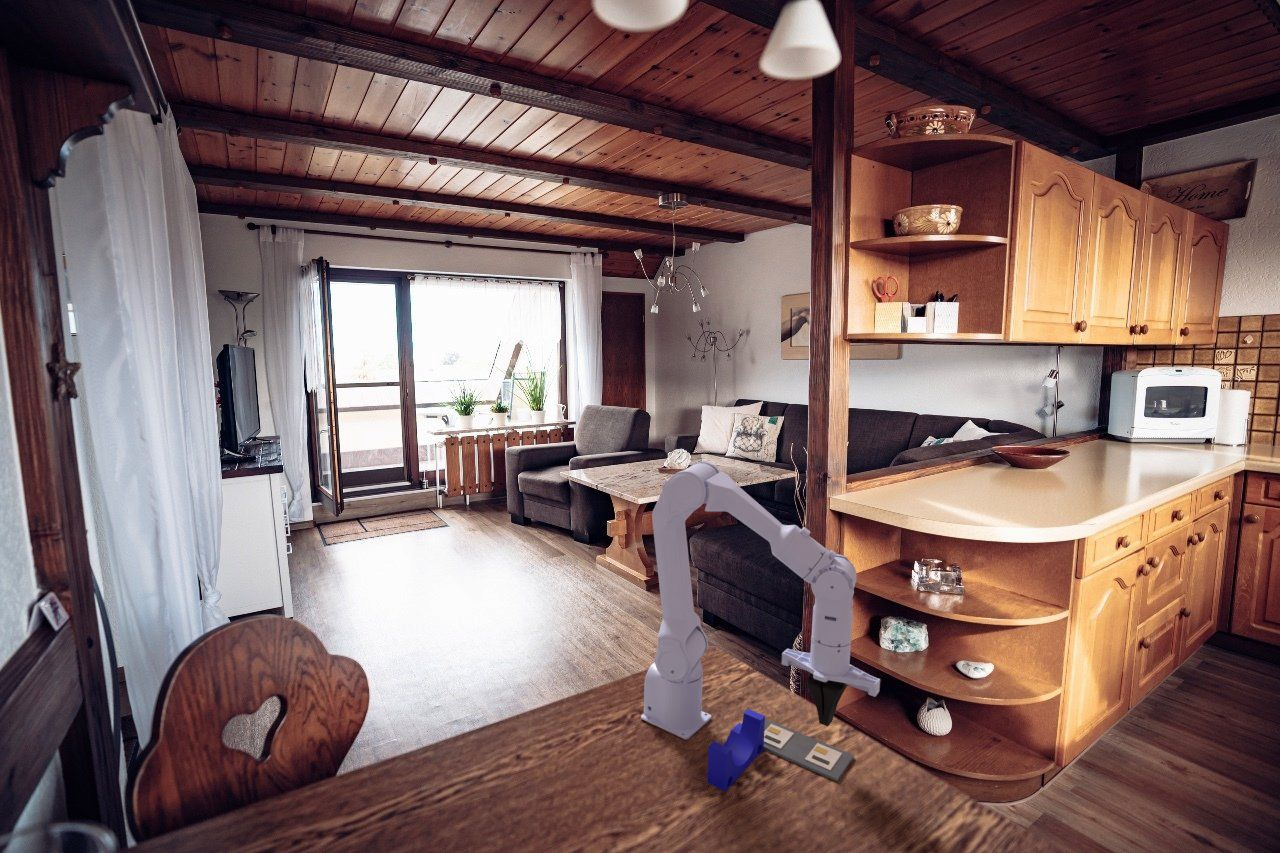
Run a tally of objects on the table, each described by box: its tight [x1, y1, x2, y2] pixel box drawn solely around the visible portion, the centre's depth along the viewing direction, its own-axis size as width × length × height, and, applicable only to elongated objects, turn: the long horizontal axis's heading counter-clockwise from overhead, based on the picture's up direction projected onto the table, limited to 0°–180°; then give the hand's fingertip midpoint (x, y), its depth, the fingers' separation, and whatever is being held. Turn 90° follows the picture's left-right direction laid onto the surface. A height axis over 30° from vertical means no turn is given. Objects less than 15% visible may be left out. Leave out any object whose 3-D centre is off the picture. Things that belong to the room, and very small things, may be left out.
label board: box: [763, 718, 855, 783], centre depth 100 cm, size 15×7×1 cm, turn 53°
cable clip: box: [706, 708, 766, 792], centre depth 97 cm, size 12×4×6 cm, turn 142°
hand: (825, 721), depth 97 cm, fingers closed
